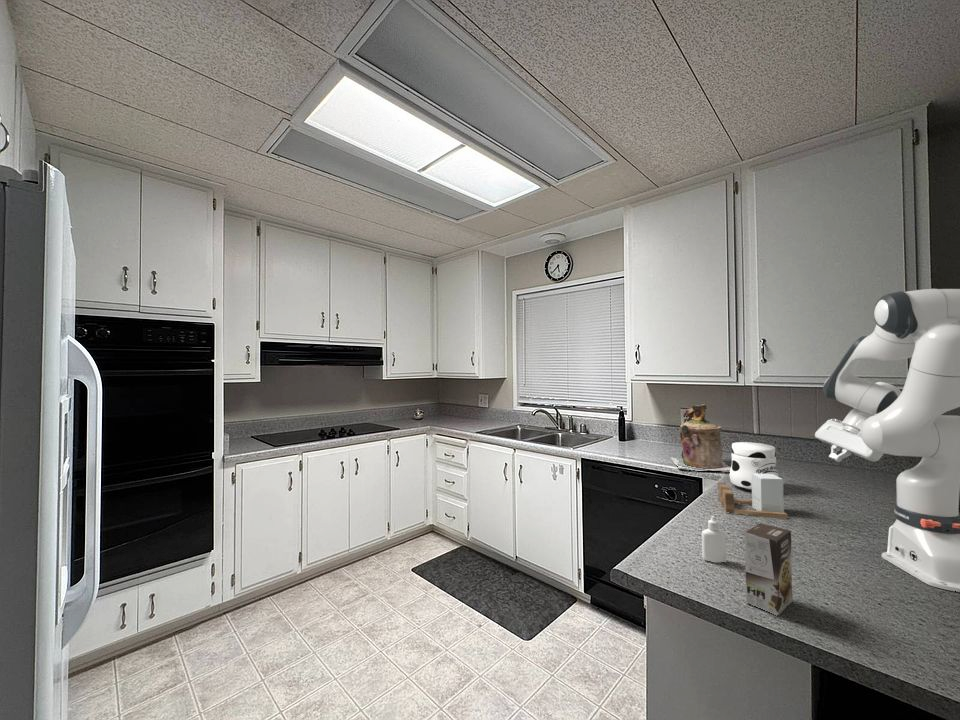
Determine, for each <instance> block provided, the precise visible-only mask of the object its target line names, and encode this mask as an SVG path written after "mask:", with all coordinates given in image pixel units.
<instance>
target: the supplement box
mask: <svg viewBox="0 0 960 720" xmlns="http://www.w3.org/2000/svg"><path fill="white" fill-rule="evenodd" d="M778 476H779V475H778ZM778 476H776V475H774V474H759V473H752V474H751V477H752V491H751V497H752V498H751V500H752V505H751V506H752V508H753V510H755V509H756V510H757V511H768V512H779V513H785V505H784V503H785V499H784V478H781V477H778Z"/></svg>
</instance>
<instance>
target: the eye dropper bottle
mask: <svg viewBox="0 0 960 720" xmlns="http://www.w3.org/2000/svg"><path fill="white" fill-rule="evenodd" d="M707 526H708V527H707V528H705V529H703V530H702V531H701V556H702V557H703V558H702V559H703V560H704V559H705V560H708V561H715V562H725V561H726V562H727V542H726V541H727V537H726V534H725V533H724V531H722V530H720V529H719V521H718V520H716V517H715V516H714V515H711V518H710V519H709V520H707ZM705 560H704V561H705ZM726 562H725V563H726Z"/></svg>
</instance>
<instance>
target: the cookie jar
mask: <svg viewBox="0 0 960 720" xmlns="http://www.w3.org/2000/svg"><path fill="white" fill-rule="evenodd" d="M706 410H707V406H706V404H701V405H697V404H694V405H692V407H691V408H687V409H685V415H686V416H687V417H688V418H687V421H685V422H684V423H683V424H680V425H679V430H680V432H679V438H680V444H681V445H682V451H681V459H682V460H683V463H684V464H685V465H687V466H691V467H696V468H703V469H705V470H712V471H724V472H723V473H725V472H730V469H731V466H729V465H728V464H726V462H725V461H723V455H724V451H723V443H722V438H721V431H722V429H723V428H722V426H720V425H718V424H713V423H711V422H710V421H708V420H706V419H705V417H706V416H705V415H706ZM670 459H671V460H672V462H673V463H674V465H675V464H676V465H677V464H680V463H679V460H677V459H678V458H677V459H676V457H670ZM676 465H675V466H676ZM677 466H678V465H677ZM677 466H676V467H677ZM678 468H679V470H685V471H689V470H695V469H692V468H688V467H682V466H678V467H677V469H678Z"/></svg>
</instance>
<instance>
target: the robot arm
mask: <svg viewBox="0 0 960 720" xmlns="http://www.w3.org/2000/svg"><path fill="white" fill-rule="evenodd" d="M873 309H874V310H873V317H874V321H875V324H876V325H875V326H874V330H873V332H872V333H871V334H868V335H864V336H863V335H862V336H860V337H859V338H857V340H855V341H854V342H853V343H852V344H851V346H850V347H849V348H848V350H847V351H846V352H845V354H844V356H843V357H842V358H841V360H840V361H839V363H838V365H836V367H835V369H834V370H833V372H832V373H831V375H830V376H829V377H828V378H826V379H825V382H824V383H823V386H822V391H823V393H824V394H825V397H826V399H829V400H832V401H834V402H835V401H836V402H838V403H841V404H843V405H844V404H845V405H847V406H848V407H851V408H853V409H851V410H850V411H849V412H848V413H847V414H846V416H845V417H844V419H843V420H840V419H837V418H830V419H827V421H825V422H824V423H823V424H822V425H821V426H819V428H818V429H817V430H816V432H815V433H814V436H815V438H816V439H818V440H819V442H820V441H821V442H823V443H825V444H828V445H830V454H829V455H828V458H829V459H831V460H833V461H835V462H837V463H840V462H842V460H843V459H846V458H848V457H850V456H851V455H852V454H853V455H854V456H858V457H860V458H862V459H865V460H868V461H870V462H873V463H874V462H877V461H880V460H881V458H882V457H883V455H884V454H885V455H886V454H887V455H890V456H897V457H898V456H900V457H917V458H918V457H920V458H921V460H920V461H919V463H917V464H916V465H915V466H913V467H911V468H909V469H905V470H904V471H901V472H900V473H899V474H898V476H897V477H896V480H895V481H896V482H895V483H896V502H895V504H894V508H893V512H894V518H895V521H894V522H893V524H892V525H890V526H889V527H888V535H887V536H888V538H887V551H884V552H881V556H880V557H881V558H882V559H883V560H885V561H887V562H889V563H890V564H892V565H894V567H895V566H896V567H897V568H899V569H901V570H903V571H904V572H906V573H908V574H909V575H911V576H913V578H915V579H918V580H919V581H920V582H923V583H925V584H926V585H928V586H931V587H935V588H938V589H942V590H947V591H951V592H955V591H956V593H960V512H959V511H960V510H959V507H960V506H959V505H960V415H951V414H949V415H947V414H946V415H944V414H945V413H947V412H949V411H953V410H954V409H958V408H960V288H927V289H926V288H924V289H915V290H914V289H913V290H908V291H901V290H900V291H895V292H891V293H887V294H884V295H882V296H881V297H880V298H879V299H878V300H877V301H876V303H875V305H874V308H873ZM909 358H911V361H910V364H909V368H908V370H907V376H906V379H905V383H904V385H903V388H902V390H901V389H900V388H898V387H897V386H895V385H893V384H890V383H889V382H885V381H884V382H883V381H877V382H872V381H870V380H866V379H864V378H860V377H858V376H856V375H855V374H854V373H853V372H854V370H855V369H856V368H857V366H858V365H859V364H860V362H861V361H867V360H869V361H871V360H872V361H873V360H874V361H883V362H895V361H903V360H907V359H909ZM840 451H841V453H839V454H838V452H840Z"/></svg>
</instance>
